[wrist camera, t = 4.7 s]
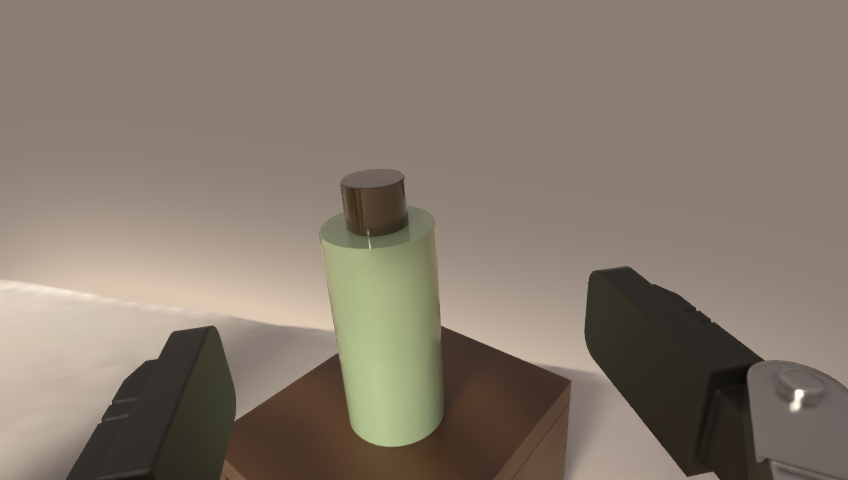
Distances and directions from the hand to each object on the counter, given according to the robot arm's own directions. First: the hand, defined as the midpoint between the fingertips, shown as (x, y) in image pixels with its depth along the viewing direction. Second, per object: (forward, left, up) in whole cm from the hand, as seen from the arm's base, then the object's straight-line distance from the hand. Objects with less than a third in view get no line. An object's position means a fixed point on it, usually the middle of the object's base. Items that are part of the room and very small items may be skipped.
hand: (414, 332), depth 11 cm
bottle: (+6, +8, -11) cm, 15 cm away
